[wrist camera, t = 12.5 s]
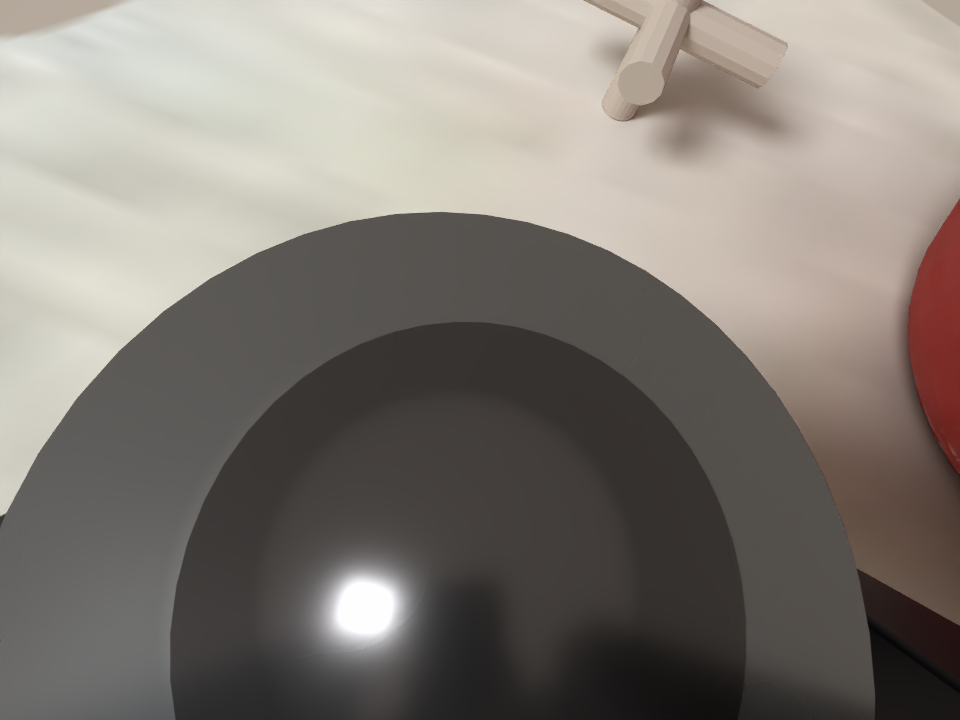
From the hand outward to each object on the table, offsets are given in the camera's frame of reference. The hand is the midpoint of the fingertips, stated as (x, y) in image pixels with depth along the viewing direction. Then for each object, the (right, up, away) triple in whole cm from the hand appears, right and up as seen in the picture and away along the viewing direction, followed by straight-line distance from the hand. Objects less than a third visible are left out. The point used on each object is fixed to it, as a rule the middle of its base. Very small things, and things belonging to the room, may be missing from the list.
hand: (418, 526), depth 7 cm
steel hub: (-1, -3, +8) cm, 8 cm away
